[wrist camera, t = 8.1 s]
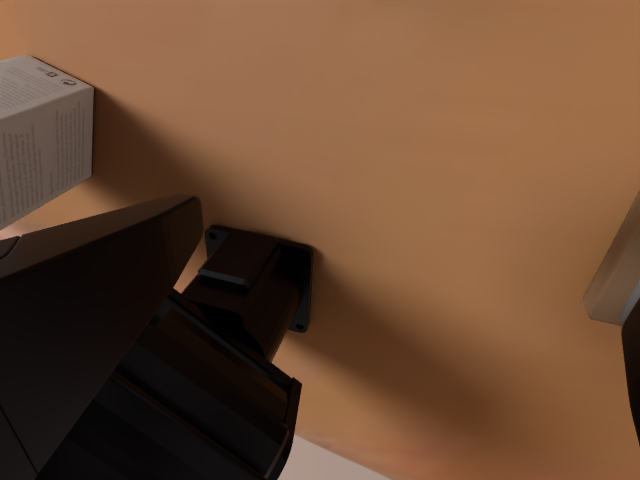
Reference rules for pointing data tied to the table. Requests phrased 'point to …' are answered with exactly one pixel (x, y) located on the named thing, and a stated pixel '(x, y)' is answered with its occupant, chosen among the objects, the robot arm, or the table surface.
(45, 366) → the robot arm
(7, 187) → the skincare box
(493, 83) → the table surface
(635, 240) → the cracker base
